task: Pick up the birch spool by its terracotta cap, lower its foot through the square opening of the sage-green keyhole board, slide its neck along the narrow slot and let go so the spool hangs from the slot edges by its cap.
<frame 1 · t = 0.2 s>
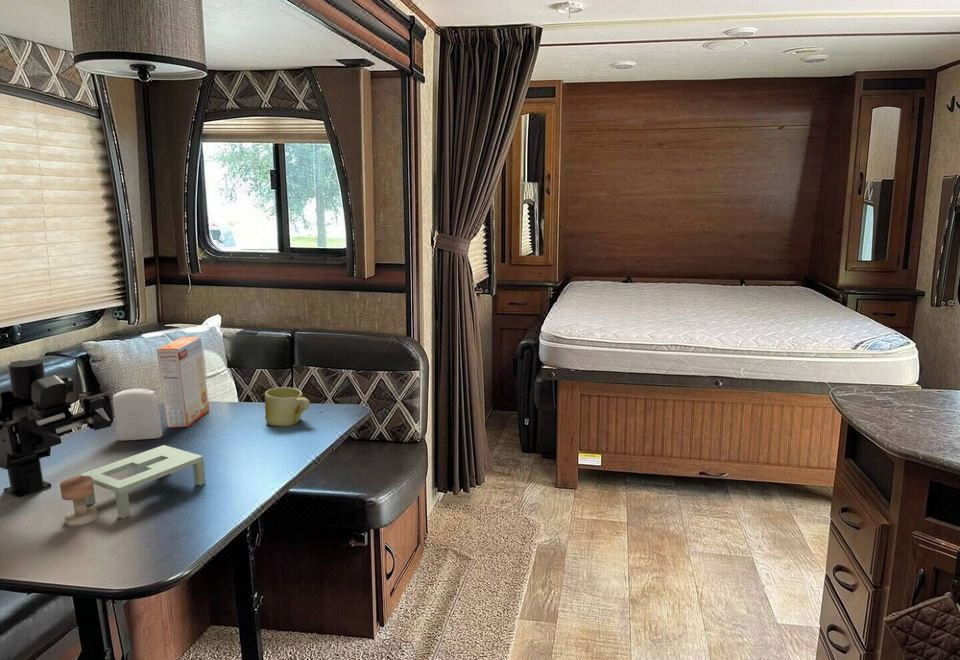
hand: (85, 432, 129), 17 cm above the table, fingers open, 9 cm apart
mug: (289, 423, 184), on the table
photo printer: (140, 438, 175), on the table
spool: (81, 519, 132), on the table
keyhole board: (146, 493, 142), on the table
cracker box: (188, 420, 188), on the table
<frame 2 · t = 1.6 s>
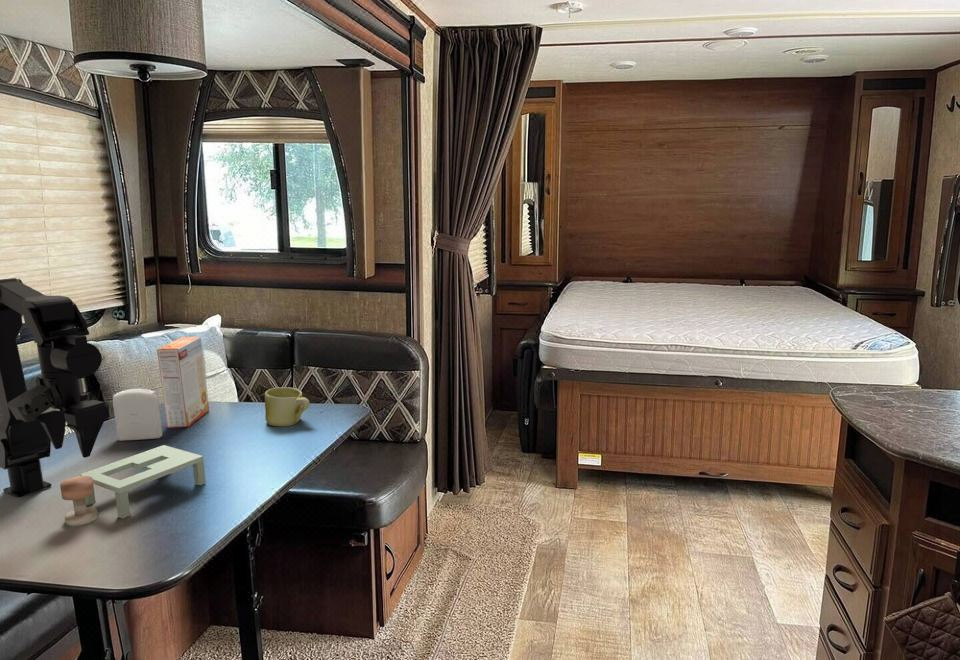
hand: (72, 452, 129), 13 cm above the table, fingers open, 9 cm apart
nothing on the table moved.
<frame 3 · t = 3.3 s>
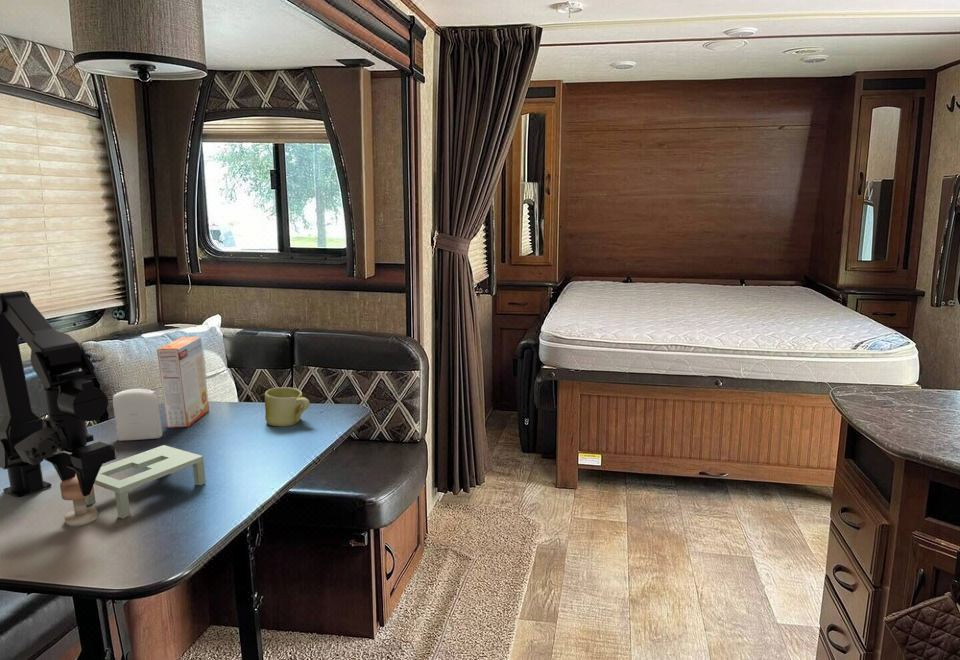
hand: (78, 492, 131), 5 cm above the table, fingers closed on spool, 5 cm apart
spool: (81, 519, 132), on the table, touching gripper
everything else where it was.
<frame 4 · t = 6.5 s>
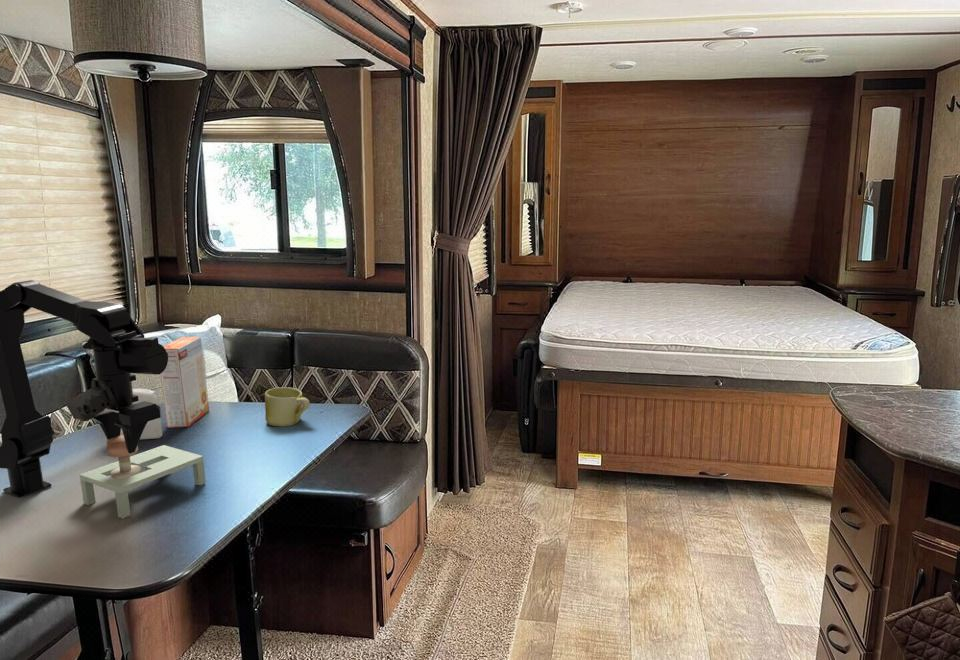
hand: (123, 450, 137), 10 cm above the table, fingers closed on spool, 5 cm apart
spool: (126, 476, 138), point 5 cm above the table, touching gripper
everything else where it was.
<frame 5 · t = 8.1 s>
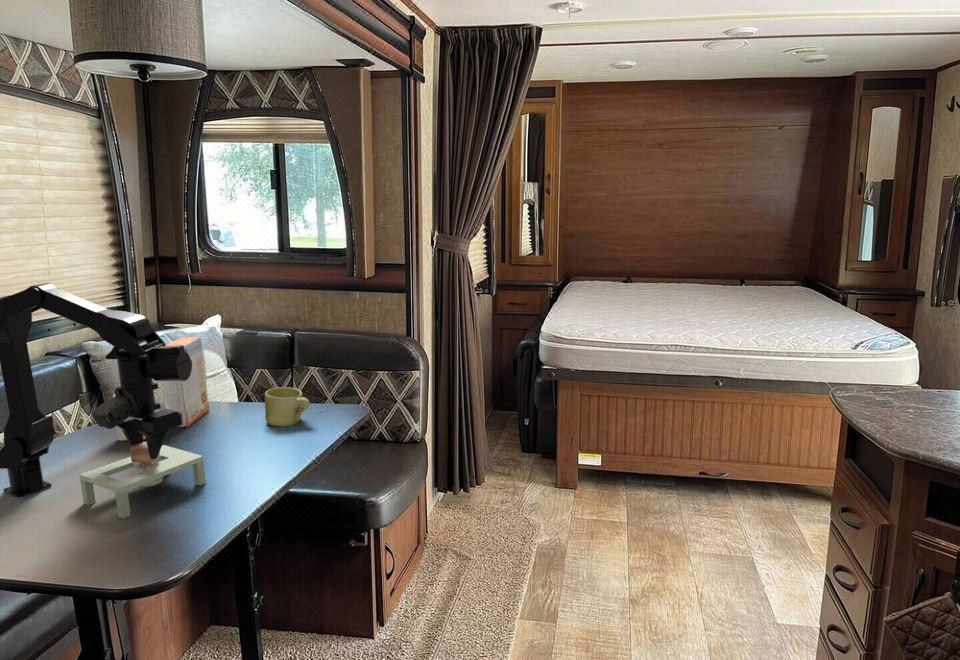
hand: (145, 456, 141), 8 cm above the table, fingers closed on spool, 5 cm apart
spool: (148, 481, 142), point 2 cm above the table, touching gripper
everything else where it was.
when the fingers open (7 cm above the table, at t = 9.6 s): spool stays where it is, resting on keyhole board.
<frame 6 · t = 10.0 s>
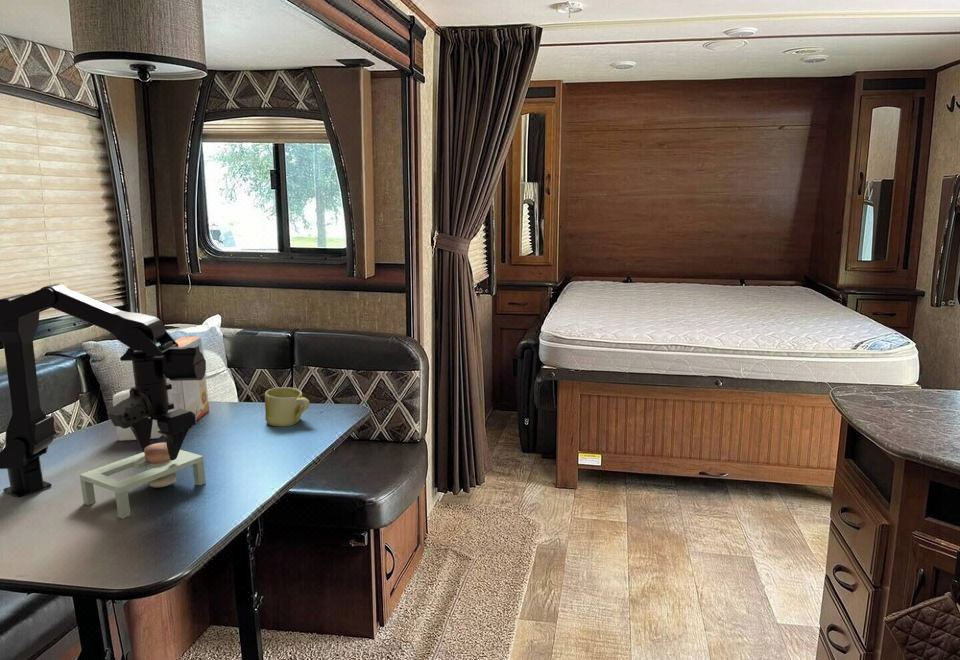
hand: (159, 455, 144), 7 cm above the table, fingers open, 9 cm apart
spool: (162, 482, 145), point 1 cm above the table, touching keyhole board
everything else where it was.
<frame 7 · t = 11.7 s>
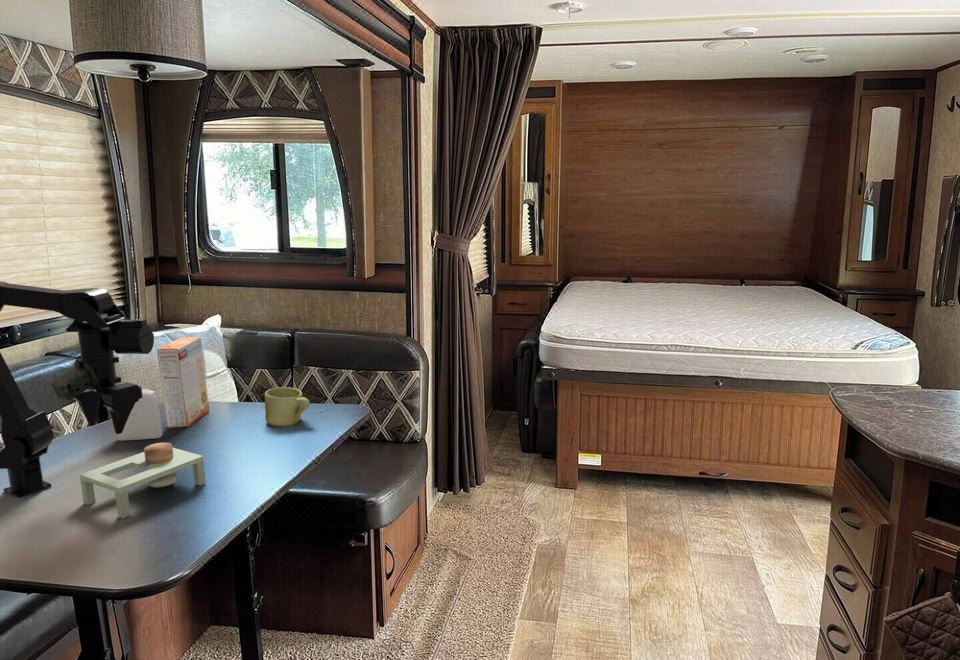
hand: (105, 429, 142), 13 cm above the table, fingers open, 9 cm apart
nothing on the table moved.
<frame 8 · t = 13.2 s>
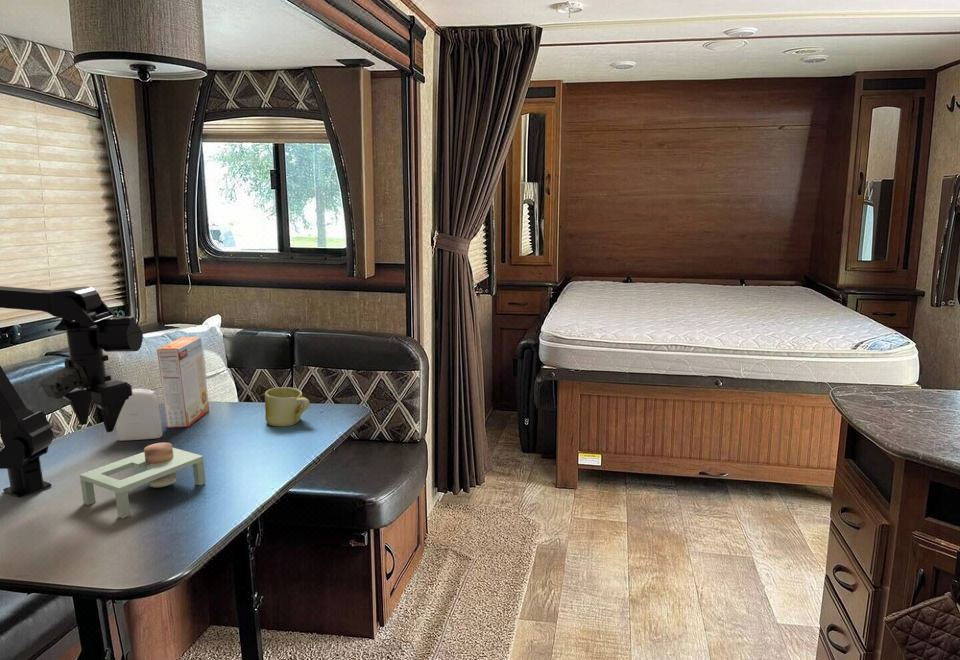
hand: (96, 428, 142), 13 cm above the table, fingers open, 9 cm apart
nothing on the table moved.
at the end: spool 0.5 cm from the target spot on the keyhole board, point 1.0 cm above the keyhole board's base; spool touching keyhole board; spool tilted 0° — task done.
